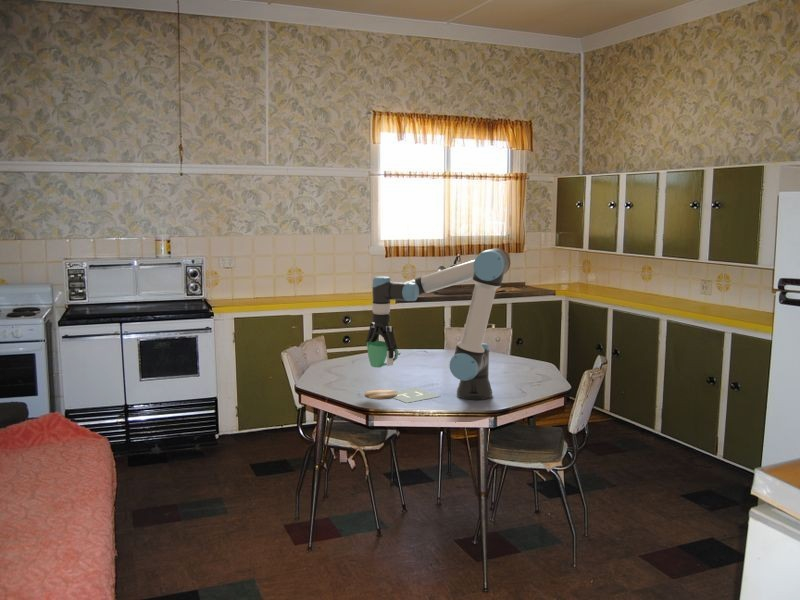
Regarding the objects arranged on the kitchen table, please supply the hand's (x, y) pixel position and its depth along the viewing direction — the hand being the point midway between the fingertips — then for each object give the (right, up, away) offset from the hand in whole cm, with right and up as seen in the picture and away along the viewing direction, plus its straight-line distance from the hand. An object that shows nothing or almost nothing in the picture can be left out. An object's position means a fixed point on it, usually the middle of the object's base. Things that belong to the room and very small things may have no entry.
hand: (381, 362), depth 314 cm
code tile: (+13, -14, +1) cm, 19 cm away
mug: (0, -2, 0) cm, 2 cm away
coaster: (0, -14, +2) cm, 14 cm away
